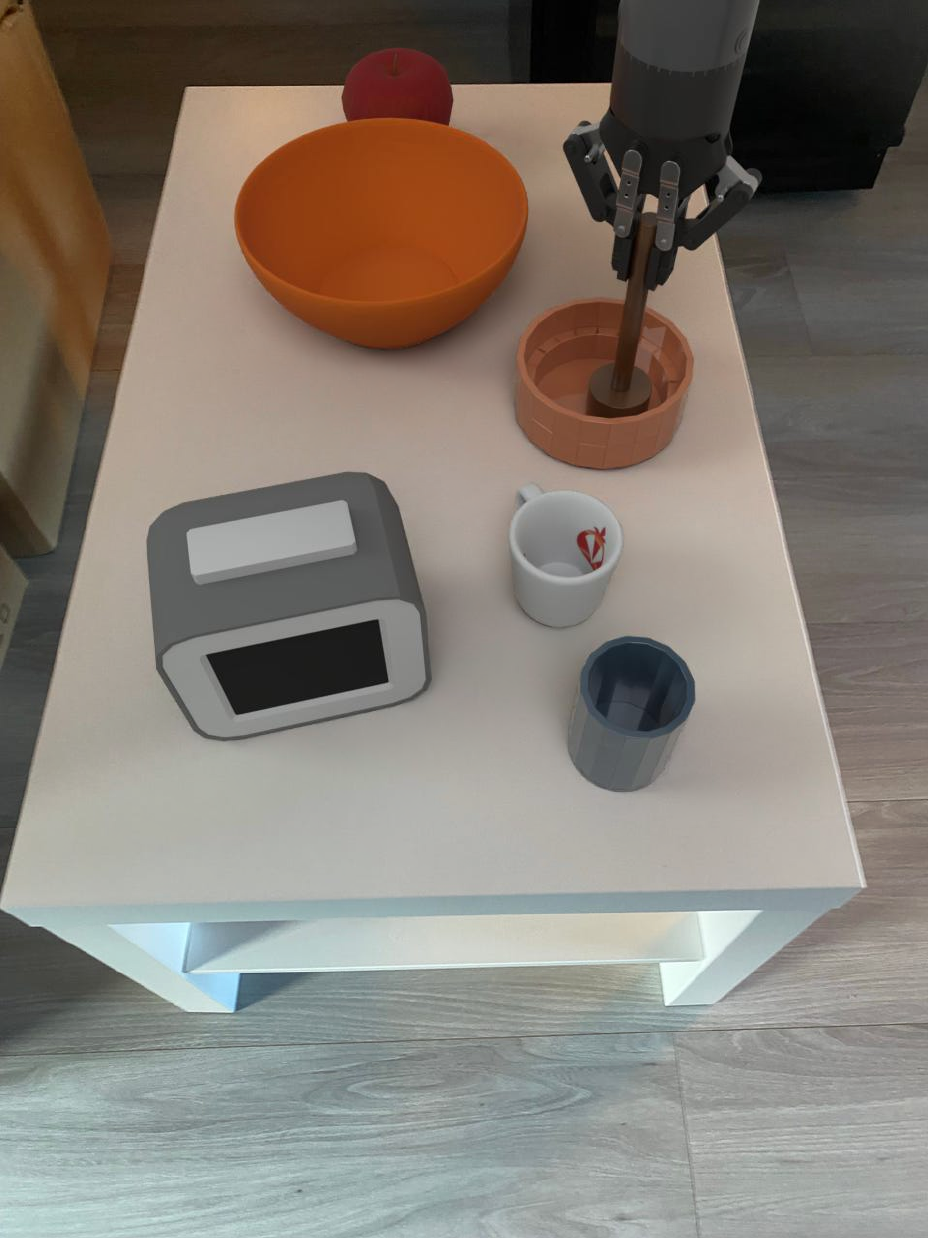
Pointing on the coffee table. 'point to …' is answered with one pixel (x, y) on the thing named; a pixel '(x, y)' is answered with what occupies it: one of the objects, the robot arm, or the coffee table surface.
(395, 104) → the apple
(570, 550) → the cup
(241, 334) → the coffee table surface
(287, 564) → the alarm clock
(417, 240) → the bowl
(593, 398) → the wooden plunger
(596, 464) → the mixing bowl
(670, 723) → the utensil crock
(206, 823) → the coffee table surface
